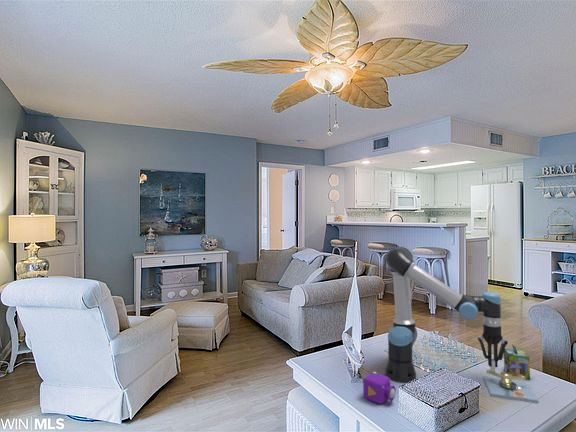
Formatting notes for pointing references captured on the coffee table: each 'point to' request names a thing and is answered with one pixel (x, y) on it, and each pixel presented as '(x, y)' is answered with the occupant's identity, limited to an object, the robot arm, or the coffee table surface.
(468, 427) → the coffee table surface
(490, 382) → the board
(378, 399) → the toy camera
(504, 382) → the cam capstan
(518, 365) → the chalk box
